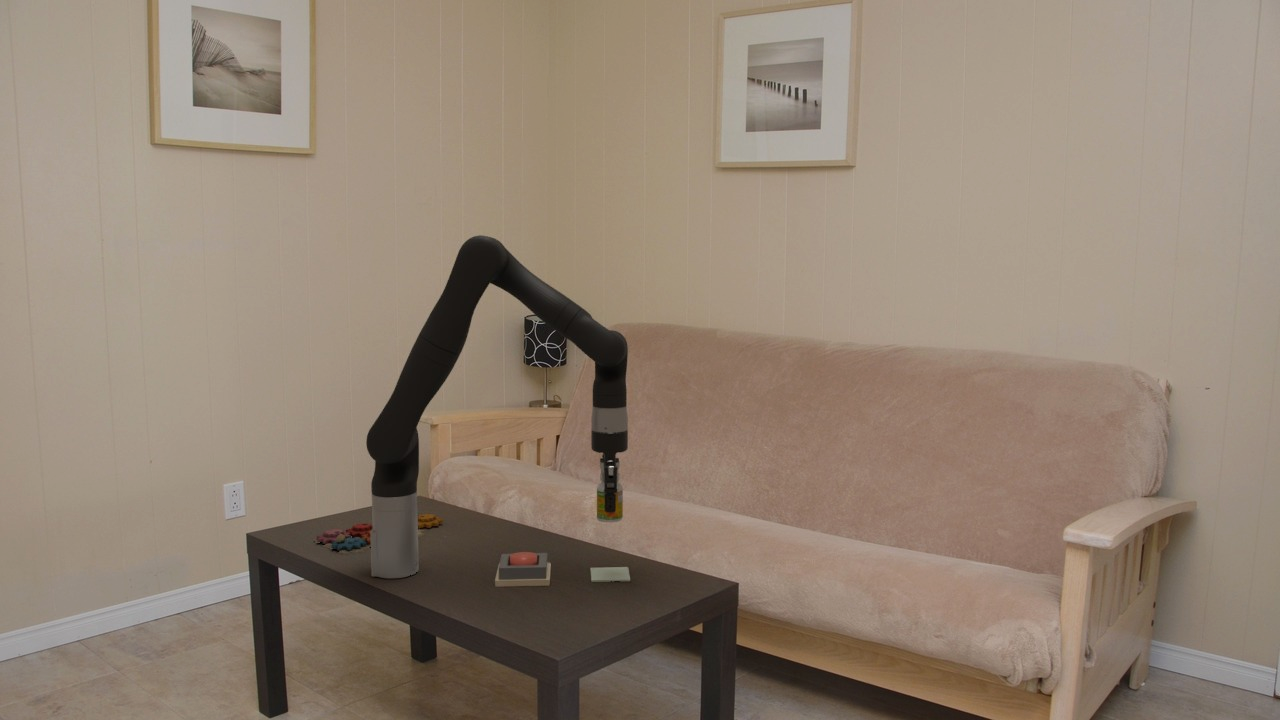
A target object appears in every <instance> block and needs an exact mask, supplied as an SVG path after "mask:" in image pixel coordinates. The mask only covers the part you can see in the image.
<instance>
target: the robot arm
mask: <svg viewBox="0 0 1280 720" xmlns="http://www.w3.org/2000/svg"><path fill="white" fill-rule="evenodd" d="M490 284H491V285H493V286H496V287H497V288H500V290H501V289H502V290H503V291H505V292H507V293H508V294H510V295H511V296H512V297H514V298H515V299H517V300H518V301H519V302H520V303H522V304H523V305H524V306H525V307H526V308H527V309H529V311H530V312H532V313H533V314H534V315H535V316H536V317H537V318H538V319H539V320H540V321H541V322H543V323H544V324H545V325H547V326H548V327H549V328H551V329H552V330H553V331H555V332H557V333H558V334H559V335H560V336H563V338H565V339H566V340H568V341H569V342H572V344H574V345H575V346H576V347H577V348H578V349H579V350H580V351H581V352H583V353H584V354H585V356H587V357H588V358H589V359H590V360H592V361H594V380H593V383H592V409H591V417H590V418H591V419H590V420H591V421H590V422H591V424H590V425H591V431H590V432H591V437H590V439H591V442H590V443H591V444H590V446H591V450H592V451H593V452H594V453H599V454H600V453H602V454H601V457H602V458H601V457H600V458H599V466H600V467H599V468H600V474H601V473H602V483H604V494H605V512H615V511H616V493H617V483H619V481H620V479H619V478H620V476H619V477H618V473H619V469H620V459H619V457H616V455H617V453H619V454H620V453H624V452H627V451H628V448H629V447H628V446H629V443H628V442H629V441H628V440H629V438H628V436H629V435H628V434H629V429H628V428H629V425H628V424H629V423H628V422H629V417H628V416H629V415H628V409H627V406H628V405H627V404H628V403H627V401H628V399H627V396H628V395H627V381H626V379H627V371H628V370H627V369H628V354H629V350H628V349H629V347H628V343H627V338H625V336H624V335H623V334H622V332H621V333H620V332H619V331H617V330H613V329H612V330H611V329H608V328H607V327H605V326H604V325H602V324H601V323H600V322H598V321H596V320H595V319H594V318H593V316H592V315H591V314H590V313H589V312H588V311H587V310H586V309H585V308H583V307H582V306H580V305H579V304H577V303H576V302H575V301H573V300H572V299H571V298H569V297H568V296H567V295H565V294H563V293H562V292H560V291H559V290H557V289H555V288H554V287H552V286H551V285H550V284H548V283H546V282H545V281H544V280H542V279H541V278H539V277H538V276H537V275H535V274H534V273H533V272H531V271H530V270H529V269H528V268H527V267H525V266H524V265H523V264H522V263H521V262H520V261H519V260H518V259H517V258H516V257H515V256H514V255H513V254H512V253H511V252H510V251H509V250H508V249H507V247H505V245H504V244H503V243H502V242H501V241H499V239H497V238H494V237H492V236H488V235H474V236H472V237H469V238H468V239H467V240H465V242H463V244H462V245H461V246H460V248H459V250H458V253H457V255H456V257H455V260H454V262H453V266H452V269H451V271H450V274H449V277H448V279H447V282H446V284H445V287H444V289H443V291H442V293H441V295H440V296H439V298H438V299H437V302H436V303H435V305H434V306H433V308H432V311H430V313H429V315H428V317H427V319H426V321H425V323H424V324H423V326H422V328H421V330H420V332H419V334H418V336H417V337H416V339H415V342H414V343H413V346H412V348H411V350H410V352H409V354H408V357H407V359H406V361H405V363H404V365H403V368H402V369H401V372H400V375H399V377H398V380H397V382H396V383H395V384H396V385H395V386H394V390H393V392H392V393H391V395H390V397H389V399H388V400H387V402H386V404H385V405H384V407H383V409H382V411H380V413H379V415H378V417H377V418H376V419H375V421H374V422H373V424H372V425H371V426H370V428H369V430H368V433H367V436H366V442H365V443H366V449H367V452H368V454H369V456H370V457H371V458H372V460H374V461H375V462H374V470H373V471H374V472H373V476H372V479H371V484H370V485H371V486H370V487H371V491H370V492H371V513H372V515H371V517H372V519H371V520H372V522H371V523H372V524H371V525H372V526H373V529H372V531H371V533H370V541H371V548H370V565H371V566H370V568H371V569H370V570H371V573H370V574H371V576H370V577H378V578H382V579H401V578H406V577H410V575H411V576H413V575H415V574H417V573H418V572H419V562H420V561H419V560H420V559H419V539H418V530H419V528H418V478H419V471H420V442H419V441H420V440H419V439H420V438H419V431H418V428H417V427H418V426H419V422H420V420H421V418H422V416H423V414H424V412H425V410H426V408H427V407H428V406H429V404H430V403H431V401H432V400H433V399H434V398H435V396H436V394H437V393H438V392H439V390H440V389H441V388H442V387H443V385H444V384H445V382H446V380H447V379H448V378H449V375H450V374H451V372H452V371H453V369H454V367H455V366H456V363H457V361H458V359H459V357H460V356H461V354H462V351H463V350H464V347H465V345H466V341H467V338H468V334H469V331H470V328H471V323H472V319H473V316H474V313H475V310H476V307H478V306H477V305H478V303H479V301H480V300H481V298H482V296H483V295H484V293H485V292H486V290H487V288H488V287H489V286H490ZM604 474H605V477H604ZM618 480H619V481H618ZM608 483H613V484H614V487H607V484H608ZM416 572H417V573H416Z"/></svg>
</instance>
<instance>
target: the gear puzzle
mask: <svg viewBox="0 0 1280 720" xmlns="http://www.w3.org/2000/svg"><path fill="white" fill-rule="evenodd" d="M417 517H418V536H423V535H425V536H426V533H425V530H423V529H422V528H427V529H430V528H432V527H436V526H437V527H438V526H439V524H443V523H444V520H443V519H442V517H440V516H436V515H435V514H434V513H433V514H431V513H428V514H425V513H424V514H420V515H419V516H418V515H417ZM372 529H373V524H371V523H368V522H367V523H365V522H364V523H363V522H362V523H357V524H354V525H352V527H351V528H348V529H346V530H345V531H344V530H343V529H339V528H338V529H337V528H332V529H327V530H324V532H323V533H322V534H319V535H317V536H316V538H314V540H316V541H317V542H323V543H322V544H326V545H331V544H332V545H331V546H330V547H331V548H333V549H336V550H337V551H341V552H342V553H345V552H350V551H355V552H359V551H363V550H361V549H365V548H369V547H370V546H371V541H370V533H371V531H372ZM421 532H424V533H421ZM351 536H352V538H351ZM423 537H424V536H423ZM418 538H419V539H420V537H418Z"/></svg>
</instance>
